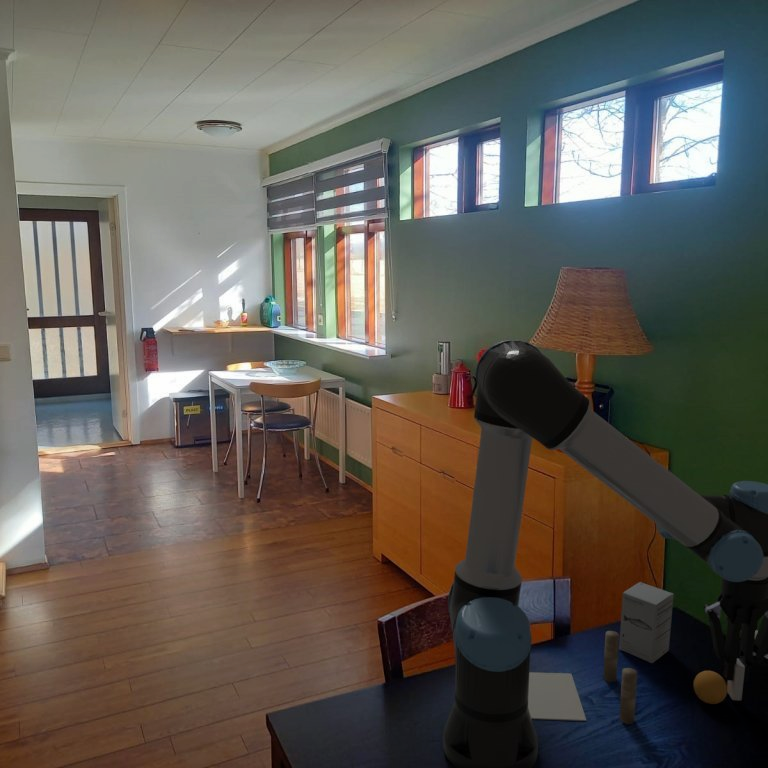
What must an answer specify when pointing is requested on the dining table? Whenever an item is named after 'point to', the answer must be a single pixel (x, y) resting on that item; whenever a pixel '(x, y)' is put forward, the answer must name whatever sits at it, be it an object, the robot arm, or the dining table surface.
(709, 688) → the ball
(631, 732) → the dining table surface
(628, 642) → the supplement box
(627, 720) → the right post
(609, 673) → the left post
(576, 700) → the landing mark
